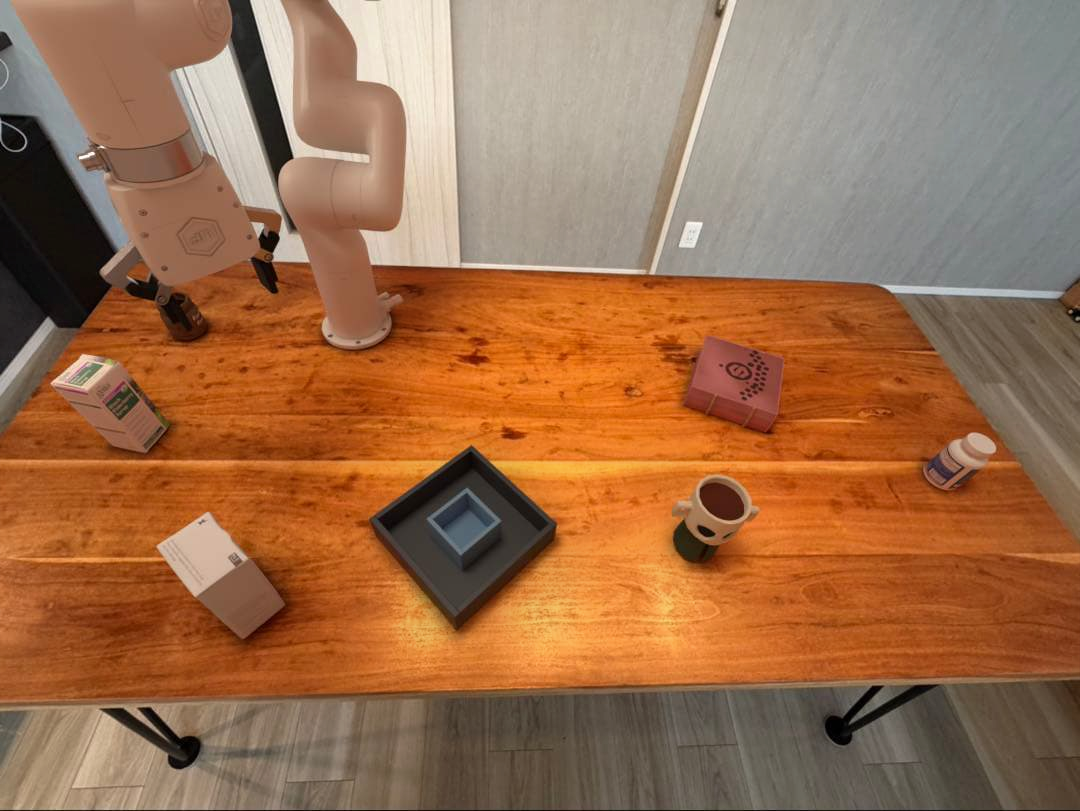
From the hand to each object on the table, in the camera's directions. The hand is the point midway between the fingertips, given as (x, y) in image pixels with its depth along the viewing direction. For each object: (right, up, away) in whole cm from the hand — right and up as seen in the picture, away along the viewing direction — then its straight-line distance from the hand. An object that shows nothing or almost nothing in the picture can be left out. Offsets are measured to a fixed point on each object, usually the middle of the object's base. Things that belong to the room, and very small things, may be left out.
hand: (229, 305), depth 58 cm
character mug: (+57, -31, +16) cm, 67 cm away
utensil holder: (-29, +2, +36) cm, 47 cm away
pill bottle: (+101, -23, +27) cm, 107 cm away
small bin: (+25, -30, +13) cm, 41 cm away
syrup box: (-26, -16, +21) cm, 37 cm away
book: (+70, -9, +36) cm, 79 cm away
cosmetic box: (-1, -36, +7) cm, 37 cm away
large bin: (+25, -30, +14) cm, 41 cm away
